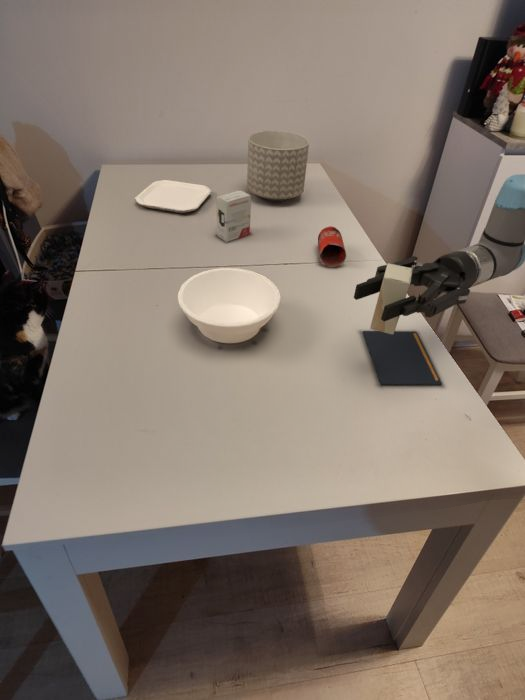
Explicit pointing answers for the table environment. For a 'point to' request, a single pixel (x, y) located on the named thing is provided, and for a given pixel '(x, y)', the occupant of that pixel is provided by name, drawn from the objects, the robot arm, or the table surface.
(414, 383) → the desk mat
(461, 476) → the table surface
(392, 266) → the box
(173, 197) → the plate
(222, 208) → the ink box
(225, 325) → the bowl
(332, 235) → the beverage can
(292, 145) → the planter
